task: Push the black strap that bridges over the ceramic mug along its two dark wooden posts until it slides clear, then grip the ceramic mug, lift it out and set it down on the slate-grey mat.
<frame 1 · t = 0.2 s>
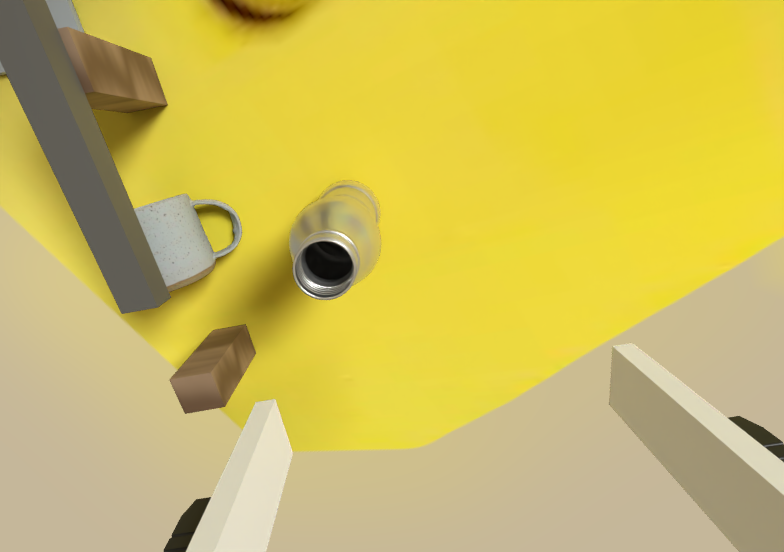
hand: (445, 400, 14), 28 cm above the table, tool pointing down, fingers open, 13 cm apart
ceramic mug: (195, 228, 40), on the table
strap stand: (192, 229, 39), on the table
plastic bottle: (350, 209, 39), on the table
strap: (86, 169, 27), point 11 cm above the table, slide at 0.0 cm
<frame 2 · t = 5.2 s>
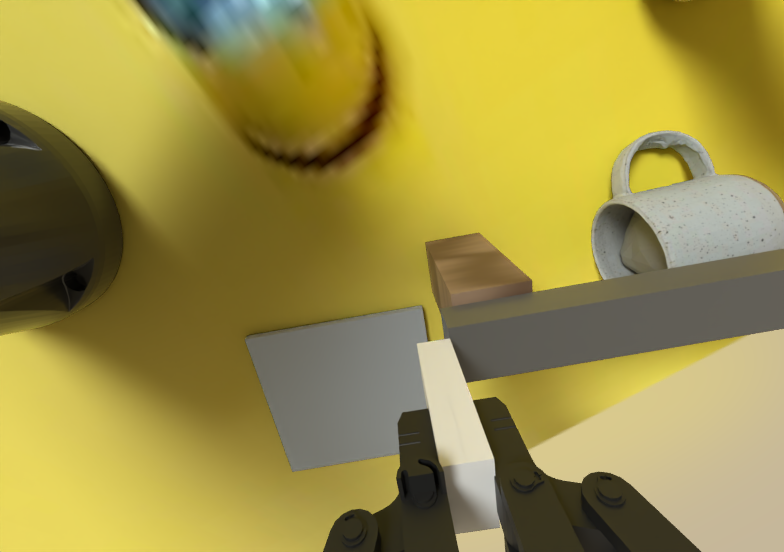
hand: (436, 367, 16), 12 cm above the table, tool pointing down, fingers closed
ceramic mug: (636, 211, 27), on the table
strap stand: (640, 230, 27), on the table
mat: (352, 392, 31), on the table
strap: (679, 305, 17), point 11 cm above the table, slide at 1.4 cm, touching gripper
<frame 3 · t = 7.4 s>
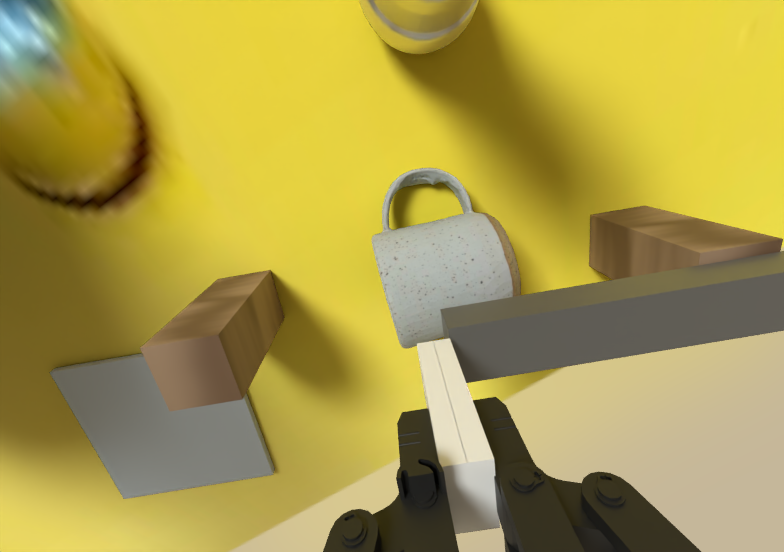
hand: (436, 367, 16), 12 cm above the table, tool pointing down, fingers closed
ceramic mug: (426, 243, 27), on the table
strap stand: (432, 267, 28), on the table
mat: (173, 422, 32), on the table
plastic bottle: (413, 1, 22), on the table
strap: (677, 307, 17), point 11 cm above the table, slide at 17.1 cm, touching gripper
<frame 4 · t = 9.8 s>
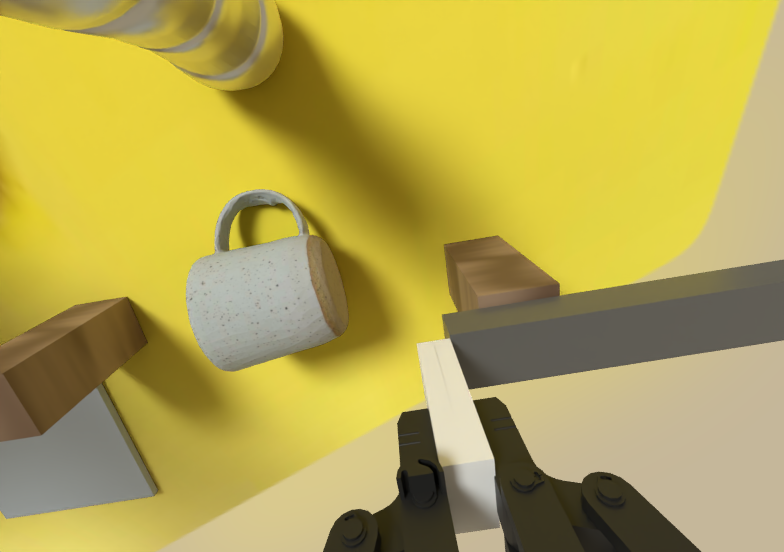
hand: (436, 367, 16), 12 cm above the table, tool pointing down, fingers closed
ceramic mug: (280, 262, 27), on the table
strap stand: (290, 295, 28), on the table
mat: (48, 444, 32), on the table
plastic bottle: (236, 36, 22), on the table
strap: (681, 315, 17), point 11 cm above the table, slide at 28.1 cm, touching gripper
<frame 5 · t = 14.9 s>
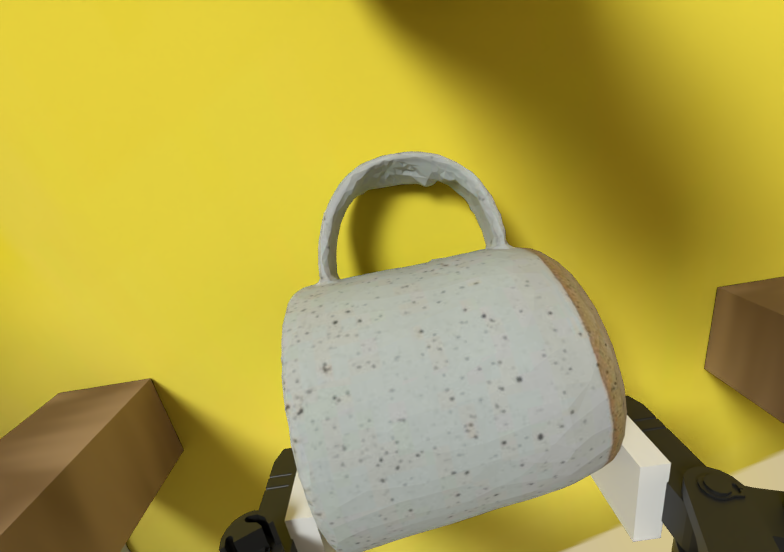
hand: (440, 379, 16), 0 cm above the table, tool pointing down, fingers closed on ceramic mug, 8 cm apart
ceramic mug: (412, 294, 15), on the table, touching gripper
strap stand: (435, 373, 16), on the table
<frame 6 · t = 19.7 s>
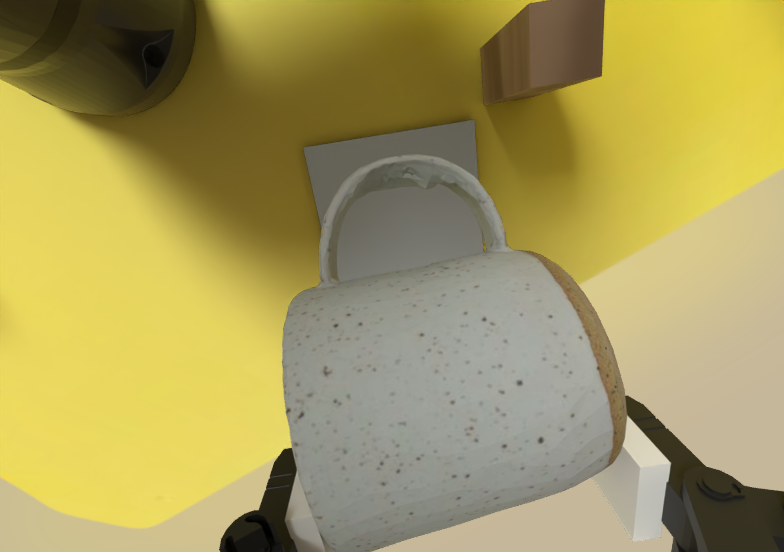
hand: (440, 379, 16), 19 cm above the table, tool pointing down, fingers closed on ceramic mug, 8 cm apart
ceramic mug: (413, 296, 15), point 19 cm above the table, touching gripper
strap stand: (684, 43, 29), on the table
mat: (400, 217, 33), on the table
when the fingers open (2 cm above the table, at t = 24.2 s): ceramic mug drops 1 cm, resting on mat.
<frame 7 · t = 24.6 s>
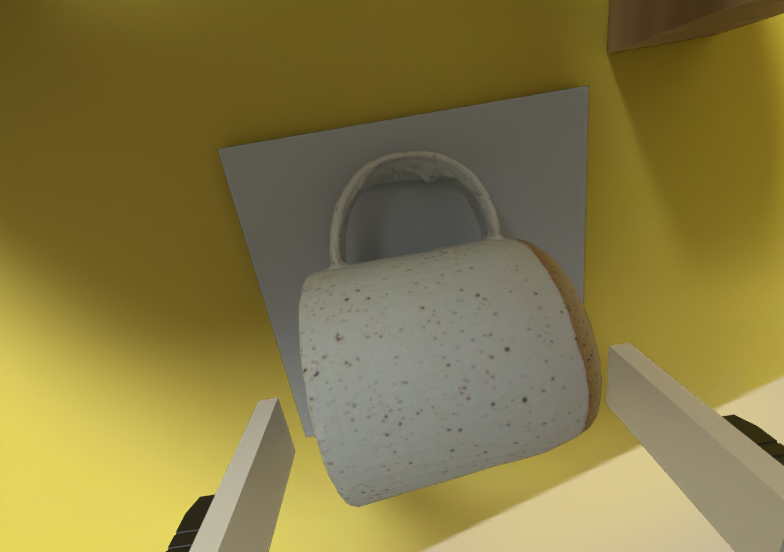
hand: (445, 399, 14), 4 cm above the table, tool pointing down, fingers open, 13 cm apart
ceramic mug: (414, 282, 16), resting on mat
mat: (423, 284, 17), on the table
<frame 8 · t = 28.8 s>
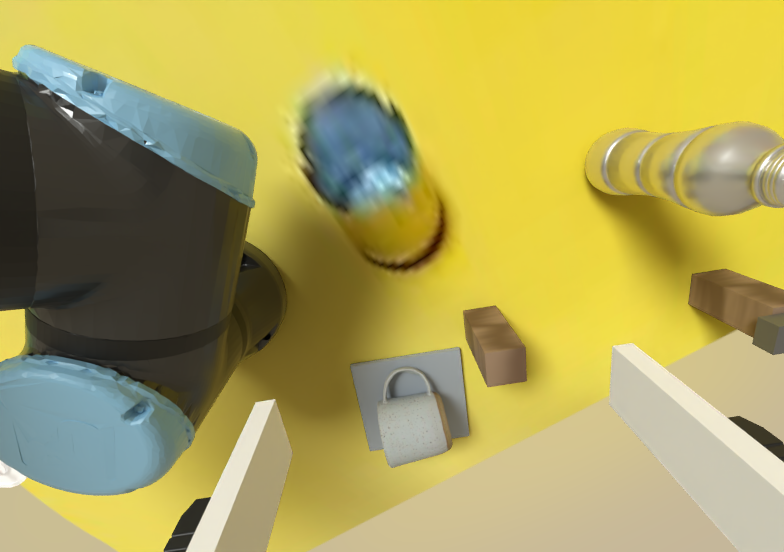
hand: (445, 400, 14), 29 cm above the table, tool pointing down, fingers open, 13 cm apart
ceramic mug: (407, 397, 49), resting on mat
strap stand: (592, 304, 45), on the table
mat: (412, 400, 49), on the table
beverage cup: (64, 408, 48), on the table
plastic bottle: (605, 161, 40), on the table
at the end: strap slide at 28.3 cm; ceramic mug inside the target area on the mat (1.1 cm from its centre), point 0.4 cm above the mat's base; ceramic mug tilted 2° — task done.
